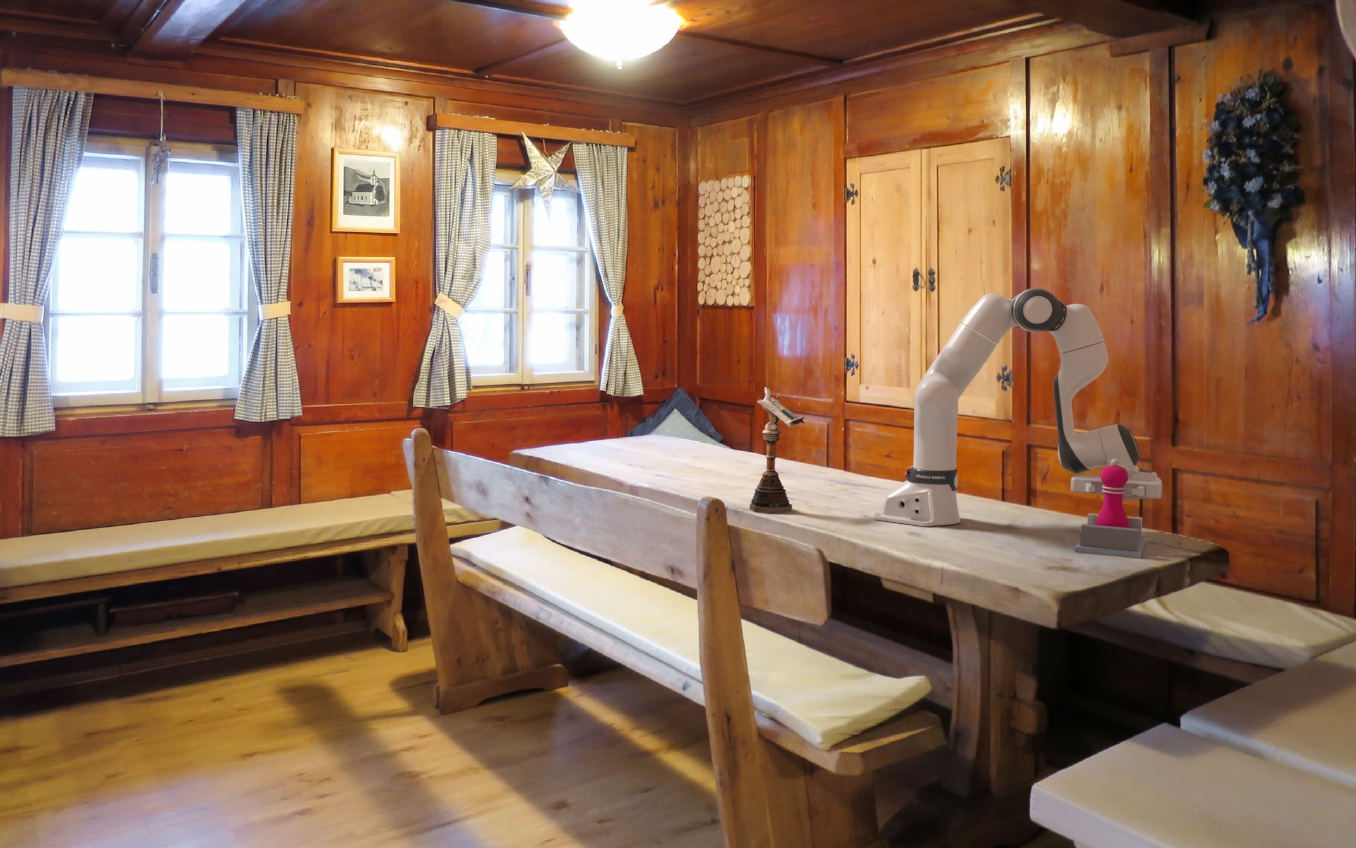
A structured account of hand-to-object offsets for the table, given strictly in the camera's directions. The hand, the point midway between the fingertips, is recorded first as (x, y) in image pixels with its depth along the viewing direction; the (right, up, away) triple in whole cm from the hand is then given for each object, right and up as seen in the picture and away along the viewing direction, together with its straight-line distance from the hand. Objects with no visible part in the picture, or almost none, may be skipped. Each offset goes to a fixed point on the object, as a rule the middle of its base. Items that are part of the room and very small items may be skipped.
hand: (1113, 491), depth 239 cm
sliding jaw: (+4, -11, +9) cm, 15 cm away
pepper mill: (0, -13, +1) cm, 13 cm away
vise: (+1, -13, +3) cm, 14 cm away
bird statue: (-74, -9, +48) cm, 88 cm away
